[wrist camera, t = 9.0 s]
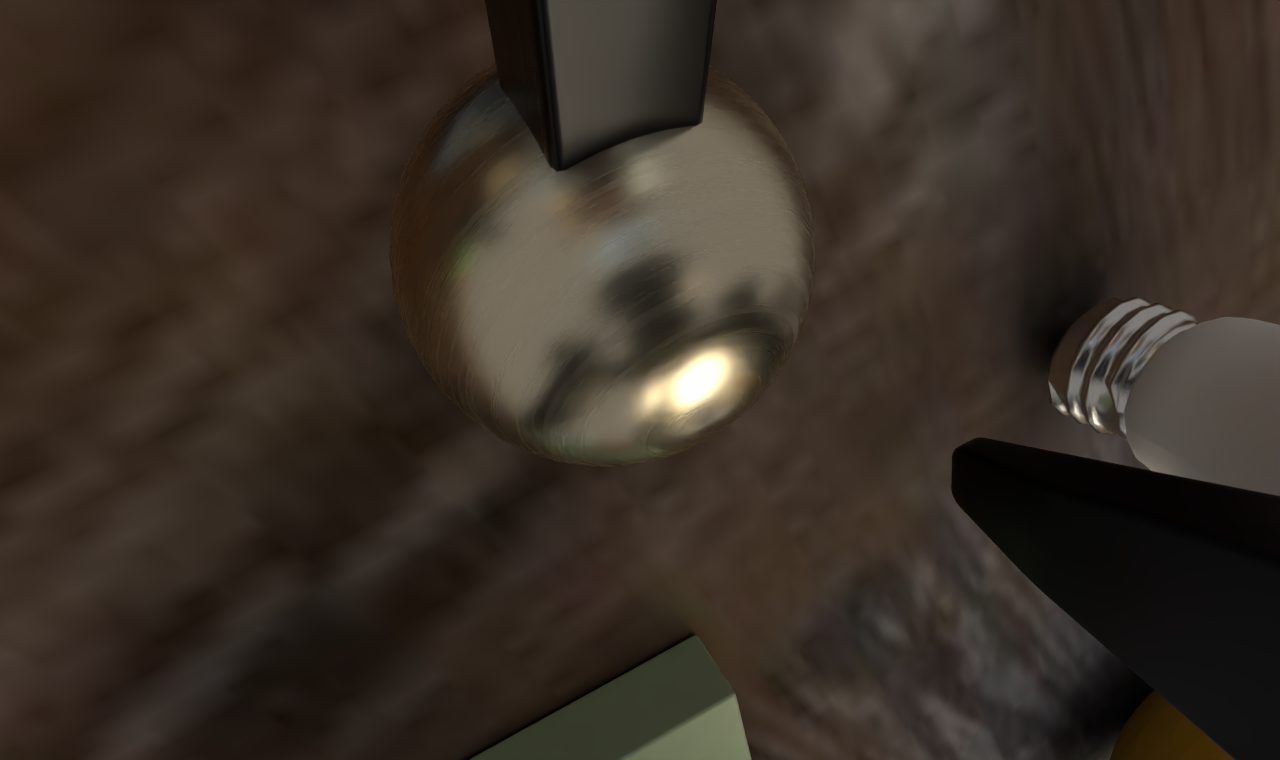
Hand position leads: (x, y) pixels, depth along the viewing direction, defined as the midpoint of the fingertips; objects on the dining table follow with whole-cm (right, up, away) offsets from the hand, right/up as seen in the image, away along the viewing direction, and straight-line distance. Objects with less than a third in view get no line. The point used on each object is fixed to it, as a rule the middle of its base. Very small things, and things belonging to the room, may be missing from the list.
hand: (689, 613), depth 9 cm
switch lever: (-2, +8, -6) cm, 10 cm away
